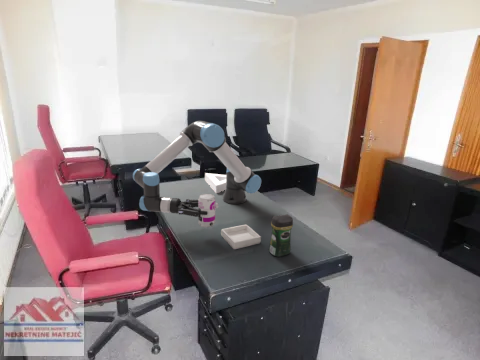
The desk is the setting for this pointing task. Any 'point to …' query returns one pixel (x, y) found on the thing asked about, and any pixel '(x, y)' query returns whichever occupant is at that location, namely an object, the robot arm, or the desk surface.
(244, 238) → the tray
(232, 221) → the desk surface
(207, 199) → the supplement can
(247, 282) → the desk surface
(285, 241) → the coffee jar
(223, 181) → the triangle block
